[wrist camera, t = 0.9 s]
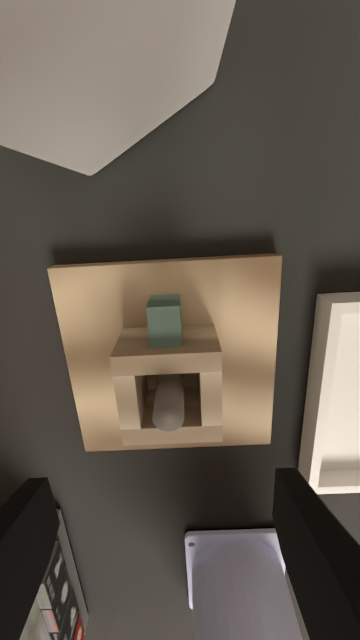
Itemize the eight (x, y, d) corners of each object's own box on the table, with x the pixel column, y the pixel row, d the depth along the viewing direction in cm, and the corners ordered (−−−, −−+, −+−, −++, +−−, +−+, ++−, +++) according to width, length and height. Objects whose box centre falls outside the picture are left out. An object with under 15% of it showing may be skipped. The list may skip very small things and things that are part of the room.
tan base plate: (266, 433, 20) (296, 511, 15) (89, 440, 21) (58, 520, 15) (276, 252, 16) (322, 275, 11) (54, 265, 16) (-5, 292, 11)
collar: (215, 400, 18) (222, 441, 15) (133, 404, 18) (122, 445, 15) (213, 288, 16) (221, 308, 13) (118, 293, 16) (102, 315, 13)
